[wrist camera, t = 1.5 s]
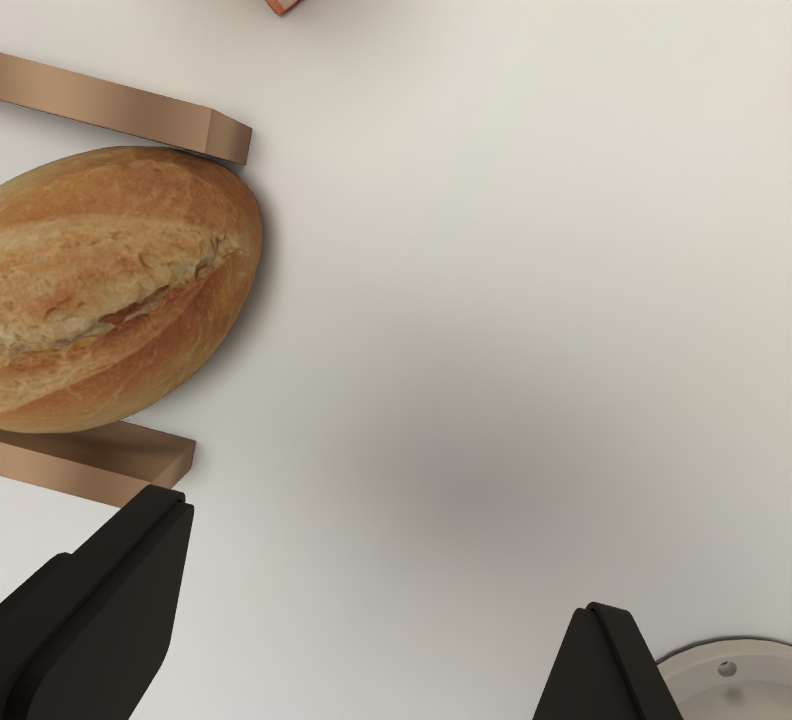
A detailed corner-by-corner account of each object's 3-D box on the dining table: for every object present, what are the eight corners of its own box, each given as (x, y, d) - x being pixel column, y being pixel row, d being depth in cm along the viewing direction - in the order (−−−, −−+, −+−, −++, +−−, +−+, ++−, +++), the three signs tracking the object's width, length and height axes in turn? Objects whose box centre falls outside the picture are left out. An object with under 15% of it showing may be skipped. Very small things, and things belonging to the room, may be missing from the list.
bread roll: (328, 298, 26) (282, 331, 18) (72, 448, 28) (-64, 533, 21) (209, 99, 24) (102, 42, 16) (-52, 277, 27) (-249, 301, 19)
